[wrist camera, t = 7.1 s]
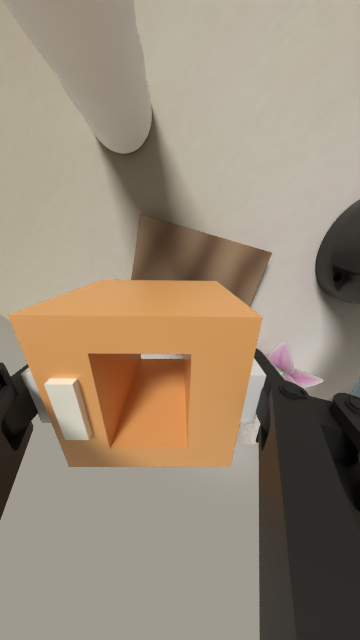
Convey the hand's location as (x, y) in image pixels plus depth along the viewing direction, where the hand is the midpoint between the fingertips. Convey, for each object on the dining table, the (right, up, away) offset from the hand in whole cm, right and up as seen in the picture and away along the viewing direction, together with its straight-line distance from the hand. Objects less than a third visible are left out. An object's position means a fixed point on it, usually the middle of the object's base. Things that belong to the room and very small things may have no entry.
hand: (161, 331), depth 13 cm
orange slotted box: (0, 0, 0) cm, 0 cm away
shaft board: (+3, +5, +14) cm, 15 cm away
